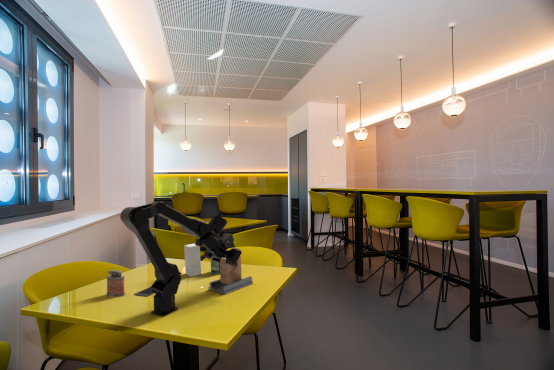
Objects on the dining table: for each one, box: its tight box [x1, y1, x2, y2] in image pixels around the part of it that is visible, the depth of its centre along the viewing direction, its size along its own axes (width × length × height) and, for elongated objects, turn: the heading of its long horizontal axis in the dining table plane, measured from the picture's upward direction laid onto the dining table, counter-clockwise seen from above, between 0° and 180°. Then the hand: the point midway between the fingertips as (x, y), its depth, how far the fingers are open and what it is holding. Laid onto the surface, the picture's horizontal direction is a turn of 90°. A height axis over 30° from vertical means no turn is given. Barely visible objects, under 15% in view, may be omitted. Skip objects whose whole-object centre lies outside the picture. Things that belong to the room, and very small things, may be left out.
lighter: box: [106, 269, 126, 298], centre depth 117 cm, size 8×3×10 cm, turn 74°
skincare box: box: [183, 243, 202, 278], centre depth 143 cm, size 8×6×15 cm
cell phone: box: [133, 286, 155, 298], centre depth 121 cm, size 7×14×1 cm, turn 159°
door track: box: [208, 275, 254, 296], centre depth 123 cm, size 16×10×3 cm, turn 141°
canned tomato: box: [210, 257, 220, 275], centre depth 146 cm, size 8×8×11 cm
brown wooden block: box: [219, 255, 242, 284], centre depth 123 cm, size 8×4×10 cm, turn 141°
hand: (233, 264), depth 124 cm, fingers closed on brown wooden block, 4 cm apart
